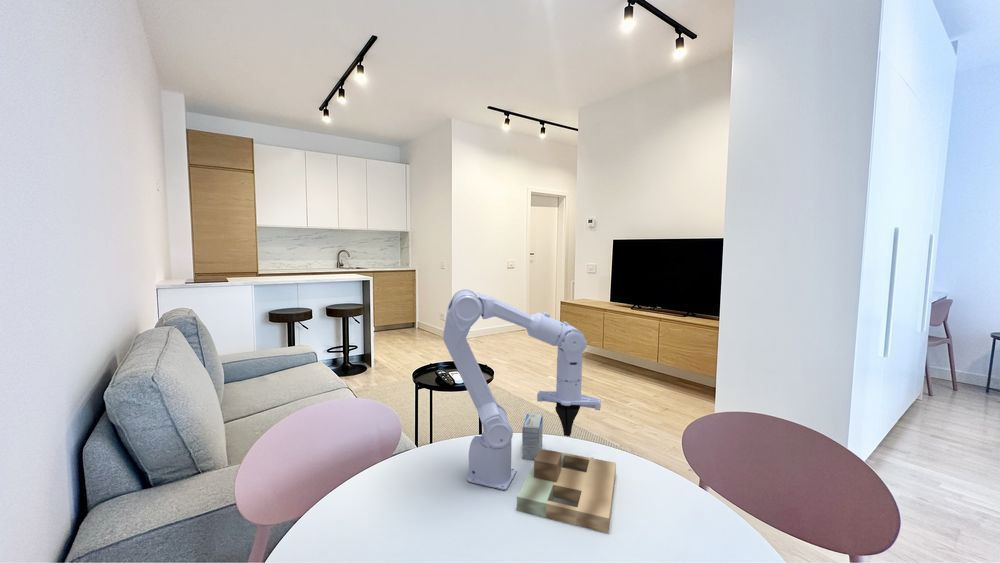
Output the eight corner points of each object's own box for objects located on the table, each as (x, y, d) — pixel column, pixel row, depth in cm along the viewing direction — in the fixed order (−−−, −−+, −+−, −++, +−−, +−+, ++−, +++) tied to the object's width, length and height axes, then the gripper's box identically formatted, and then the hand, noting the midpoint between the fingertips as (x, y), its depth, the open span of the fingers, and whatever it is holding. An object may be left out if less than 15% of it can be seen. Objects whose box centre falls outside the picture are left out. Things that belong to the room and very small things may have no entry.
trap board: (516, 510, 79) (516, 496, 79) (540, 459, 98) (541, 448, 98) (608, 533, 73) (609, 518, 73) (615, 474, 92) (616, 462, 91)
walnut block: (533, 477, 85) (534, 460, 85) (539, 465, 90) (539, 448, 90) (556, 482, 84) (557, 464, 83) (561, 469, 88) (561, 453, 88)
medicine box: (539, 461, 97) (540, 427, 97) (521, 459, 98) (522, 426, 97) (542, 445, 105) (543, 414, 104) (526, 443, 106) (526, 412, 105)
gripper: (534, 379, 89) (533, 436, 90) (599, 387, 84) (597, 448, 86) (541, 370, 96) (540, 423, 97) (602, 377, 91) (600, 433, 92)
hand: (567, 434), depth 92 cm, fingers closed
